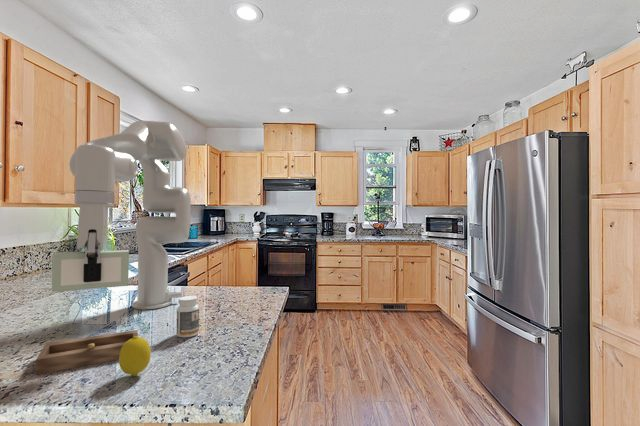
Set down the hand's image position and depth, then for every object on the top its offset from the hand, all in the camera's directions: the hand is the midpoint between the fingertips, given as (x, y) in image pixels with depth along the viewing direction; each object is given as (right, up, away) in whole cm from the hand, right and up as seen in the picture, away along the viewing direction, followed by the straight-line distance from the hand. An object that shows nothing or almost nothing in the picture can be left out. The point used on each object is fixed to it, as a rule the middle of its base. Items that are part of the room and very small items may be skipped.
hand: (93, 278), depth 74 cm
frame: (0, -2, 0) cm, 2 cm away
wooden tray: (0, -17, 0) cm, 18 cm away
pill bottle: (+16, -18, +14) cm, 28 cm away
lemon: (+15, -18, -9) cm, 25 cm away
